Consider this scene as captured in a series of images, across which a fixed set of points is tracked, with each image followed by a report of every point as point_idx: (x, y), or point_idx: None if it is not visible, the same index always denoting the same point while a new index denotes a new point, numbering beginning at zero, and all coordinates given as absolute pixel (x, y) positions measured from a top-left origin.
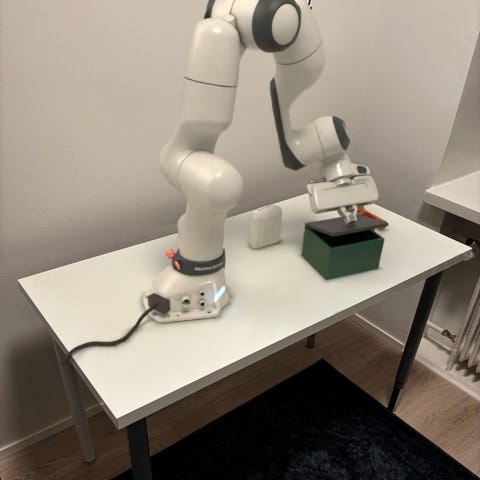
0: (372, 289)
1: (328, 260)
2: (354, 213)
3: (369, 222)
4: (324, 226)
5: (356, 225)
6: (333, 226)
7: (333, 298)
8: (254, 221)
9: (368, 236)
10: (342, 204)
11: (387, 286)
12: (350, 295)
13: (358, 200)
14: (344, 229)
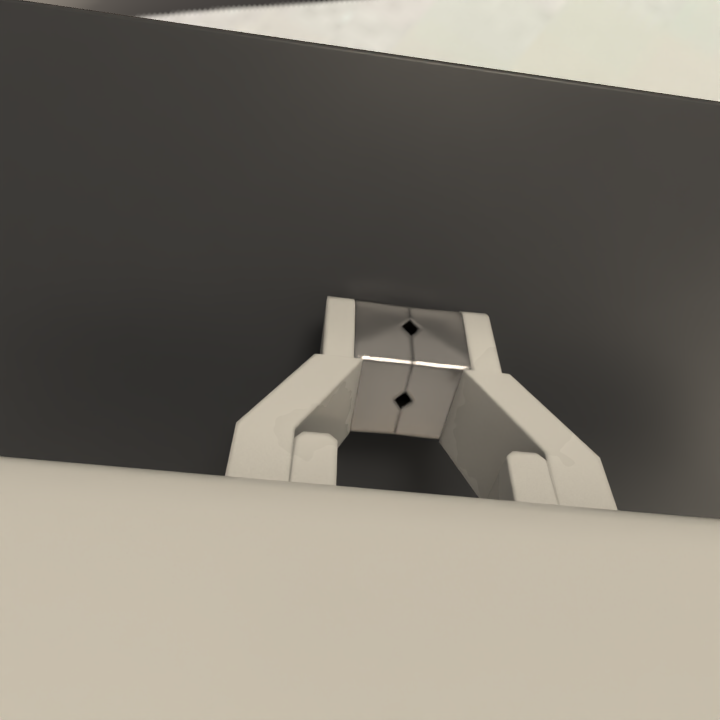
0: (360, 38)
1: None
2: (337, 375)
3: (127, 239)
4: (681, 506)
5: (381, 238)
6: (613, 426)
7: (643, 82)
8: None
9: None
10: (642, 525)
11: (244, 16)
12: (531, 56)
13: (160, 513)
14: (650, 181)
